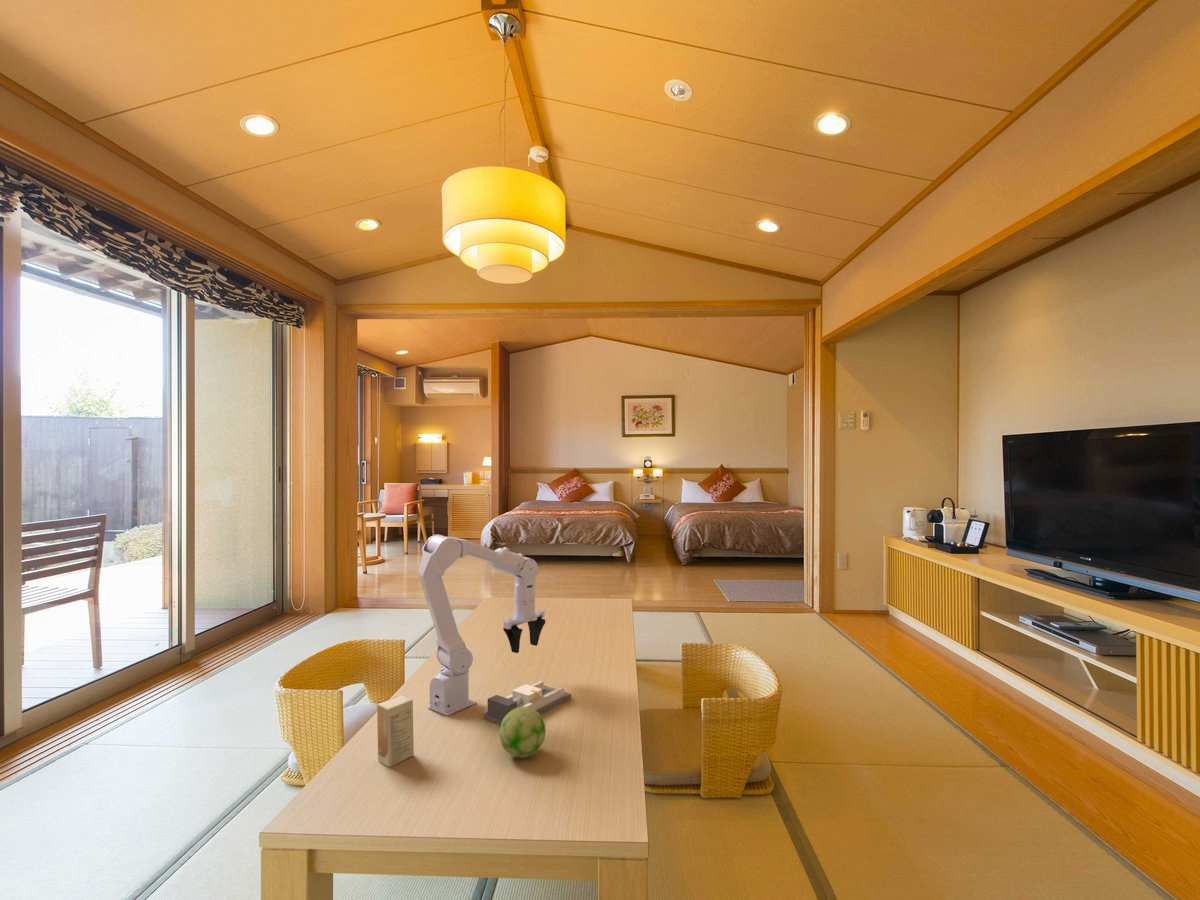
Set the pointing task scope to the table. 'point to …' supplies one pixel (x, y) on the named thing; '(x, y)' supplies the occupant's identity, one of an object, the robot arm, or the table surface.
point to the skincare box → (395, 730)
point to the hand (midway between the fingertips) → (524, 648)
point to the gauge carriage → (525, 694)
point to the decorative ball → (522, 732)
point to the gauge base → (504, 705)
